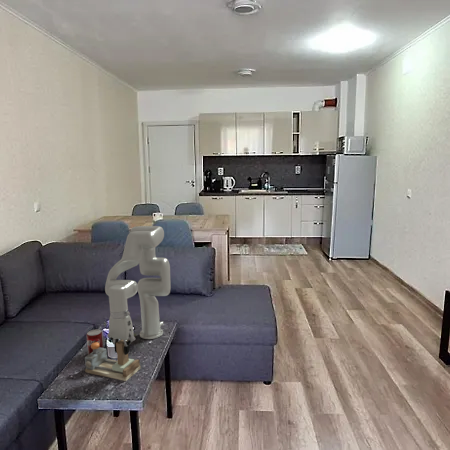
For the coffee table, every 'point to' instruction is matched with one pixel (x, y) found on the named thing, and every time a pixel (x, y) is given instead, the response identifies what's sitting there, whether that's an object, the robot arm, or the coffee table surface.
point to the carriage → (121, 358)
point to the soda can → (94, 339)
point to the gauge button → (95, 347)
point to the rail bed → (108, 366)
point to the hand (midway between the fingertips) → (122, 352)
